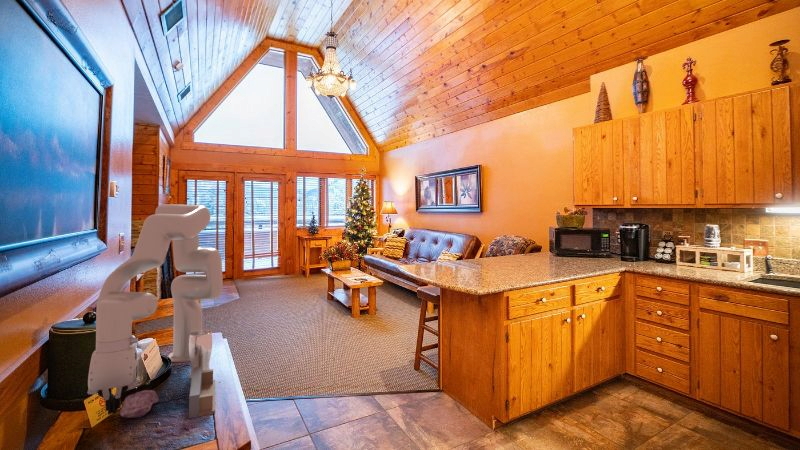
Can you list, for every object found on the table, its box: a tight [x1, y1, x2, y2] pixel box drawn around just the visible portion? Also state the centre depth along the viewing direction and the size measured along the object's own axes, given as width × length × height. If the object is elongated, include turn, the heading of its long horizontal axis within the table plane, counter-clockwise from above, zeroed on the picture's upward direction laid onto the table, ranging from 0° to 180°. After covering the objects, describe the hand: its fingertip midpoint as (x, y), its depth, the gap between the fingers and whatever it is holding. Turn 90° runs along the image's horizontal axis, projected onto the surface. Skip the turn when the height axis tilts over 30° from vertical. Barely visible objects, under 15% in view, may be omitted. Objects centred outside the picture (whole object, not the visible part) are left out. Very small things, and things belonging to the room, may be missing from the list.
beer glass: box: [189, 329, 213, 381], centre depth 119 cm, size 7×7×15 cm
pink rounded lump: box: [119, 389, 160, 419], centre depth 98 cm, size 8×14×5 cm, turn 25°
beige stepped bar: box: [188, 366, 216, 419], centre depth 105 cm, size 20×6×6 cm, turn 28°
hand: (113, 411), depth 95 cm, fingers closed
